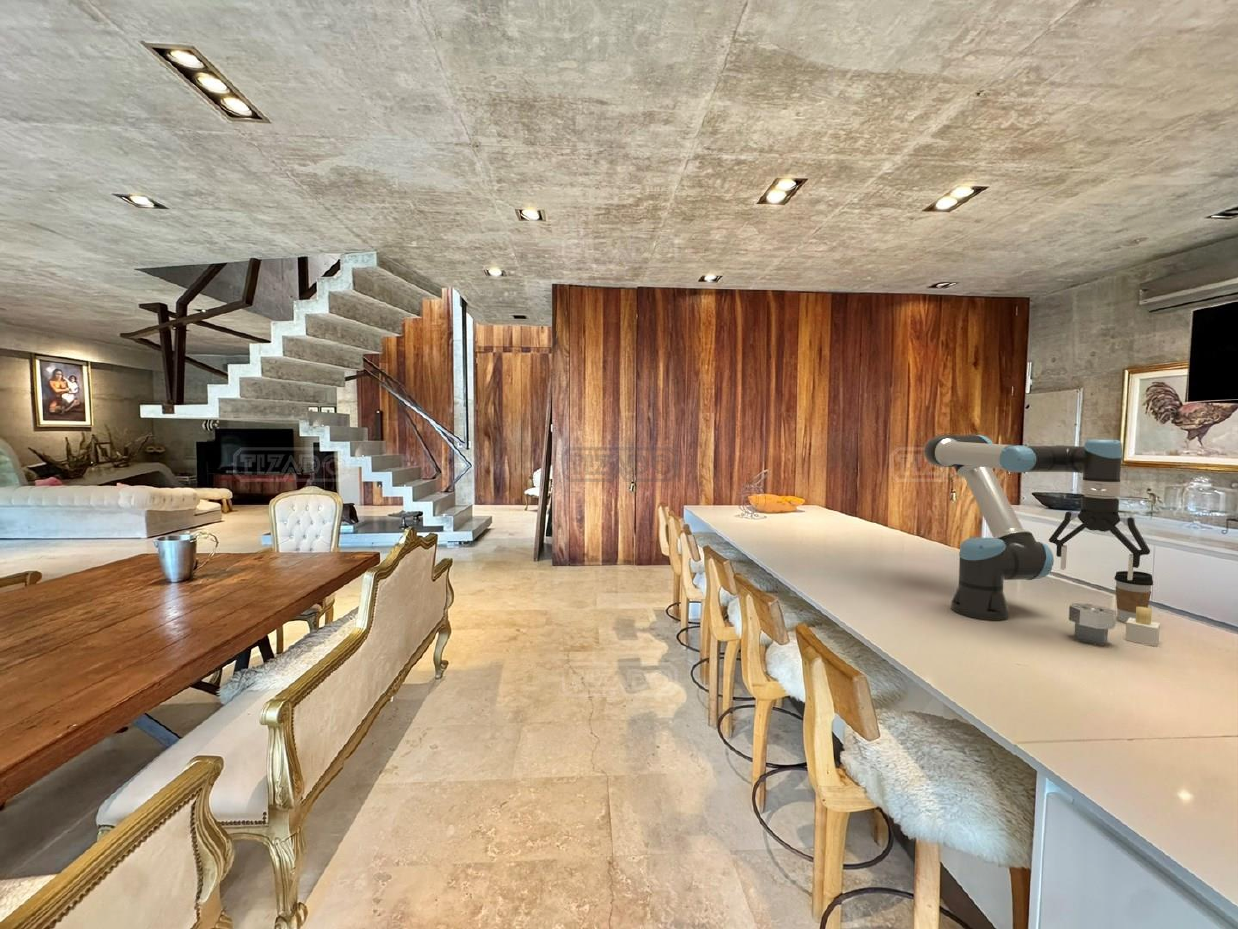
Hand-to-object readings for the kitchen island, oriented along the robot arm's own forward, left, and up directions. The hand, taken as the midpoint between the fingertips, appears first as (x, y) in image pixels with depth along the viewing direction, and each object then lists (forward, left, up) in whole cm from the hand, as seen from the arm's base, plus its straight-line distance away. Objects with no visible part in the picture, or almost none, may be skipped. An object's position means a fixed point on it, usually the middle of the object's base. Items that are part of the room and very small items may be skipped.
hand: (1095, 574), depth 142 cm
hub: (+9, +11, -19) cm, 23 cm away
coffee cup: (+5, +29, -19) cm, 35 cm away
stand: (0, 0, -19) cm, 19 cm away
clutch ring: (0, 0, -14) cm, 14 cm away
